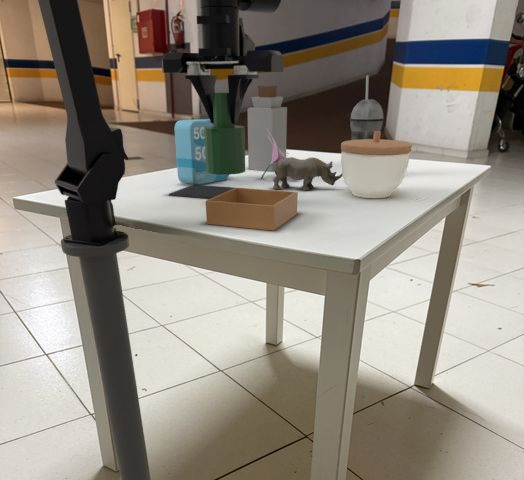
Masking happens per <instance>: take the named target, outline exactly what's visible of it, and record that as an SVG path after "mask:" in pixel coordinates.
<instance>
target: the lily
mask: <svg viewBox="0 0 524 480" xmlns="http://www.w3.org/2000/svg"><path fill="white" fill-rule="evenodd" d="M266 129H267V128H266ZM268 132H269V131H268ZM269 133H270V132H269ZM270 135H271V134H270ZM271 137H272V136H271ZM268 138H269V137H268ZM269 139H270V138H269ZM272 139H273V137H272ZM270 141H271V139H270ZM273 142H274V144H273V143H272V141H271V143H272V145H273V154H272V162H271V163H270V165H269V166H268V167H267V168H266V170H265V171H264V172H263V173H262V175H261V177H260V179H261V180H263V178H264V176H265V174H266V172H268V171H267V169H268V168H269V167H270V166H271V165H272V164H277V162H278V161H279V160H280V159H281V158H283V157H284V155H286V157H289V152H288V151H287V150H286V151H285V152H286V153H285V152H284V153H285V154H284V153H282V151H281V150H279V149H277V145H276V143H275V140H274V139H273ZM283 154H284V155H283Z"/></svg>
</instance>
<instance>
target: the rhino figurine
mask: <svg viewBox="0 0 524 480" xmlns="http://www.w3.org/2000/svg"><path fill="white" fill-rule="evenodd" d="M332 168H333V161H330V162H329V163H326V162H324V161H323V160H321V159H319V158H318V157H308V158H305V159H300V158H297V157H292V156H291V157H289V156H288V157H286V158H285V157H283V158H281V159H280V160H279V161H278V162H277V164H276V170H275V171H274V174H275V176H274V178H273V179H272V180H273V186H272V188H273V190H281V188H290V186H291V185H290V184H289V183H288V180H287V177H288V178H290V179H292V180H294V181H302V180H303V181H302V185H301V189H302V190H303V191H310V189H314V188H315V186H314V185H313V180H314V179H315V178H316V177H318V178H319V177H320V178H321V180H322V181H323V182H324V183H326V184H328V185H330V186H332V187H333V186H334V185H335V184H336V181H338V180H340V179H341V178H343V176H342V173H340V174H339V175H336V174H337V171H334V172H332V170H331V169H332ZM280 182H281V186H280Z"/></svg>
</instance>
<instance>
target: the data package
mask: <svg viewBox="0 0 524 480" xmlns="http://www.w3.org/2000/svg"><path fill="white" fill-rule="evenodd" d="M207 126H214V123H211V121H210V119H209V118H201V119H199V118H197V119H180V120H177V121H176V122H175V124H174V141H175V143H174V144H175V156H176V170H177V178H178V180H179V182H180V183H182V184H190V185H204V184H209V183H214V182H220V181H225V180H227V179H228V178H229V177H230V175H217V174H210V173H207V169H206V154H205V137H204V127H207Z"/></svg>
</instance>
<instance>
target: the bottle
mask: <svg viewBox="0 0 524 480" xmlns="http://www.w3.org/2000/svg"><path fill="white" fill-rule="evenodd" d="M212 99H213V119H214V126H207V127H204V137H205V154H206V169H207V173H210V174H217V175H229V176H230V175H239V174H244V173H246V136H245V133H246V131H245V126H244V125H236V124H232V121H231V116H230V103H229V92H215V93H212Z"/></svg>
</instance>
